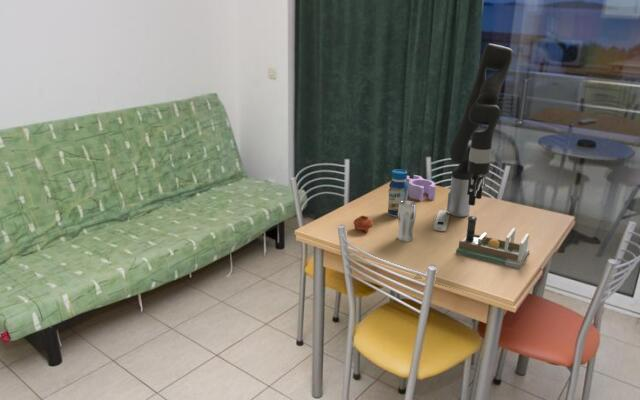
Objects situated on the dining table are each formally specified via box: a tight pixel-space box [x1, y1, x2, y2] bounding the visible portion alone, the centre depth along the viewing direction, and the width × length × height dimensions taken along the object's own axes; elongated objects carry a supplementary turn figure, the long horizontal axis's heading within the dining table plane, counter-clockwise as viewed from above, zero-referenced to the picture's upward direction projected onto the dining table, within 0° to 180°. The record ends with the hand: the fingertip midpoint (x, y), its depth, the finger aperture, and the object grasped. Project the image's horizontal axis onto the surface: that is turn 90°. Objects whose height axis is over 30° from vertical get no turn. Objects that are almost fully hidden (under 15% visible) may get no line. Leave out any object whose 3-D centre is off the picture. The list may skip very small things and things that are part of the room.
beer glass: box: [397, 200, 417, 243], centre depth 205 cm, size 7×7×15 cm
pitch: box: [455, 227, 530, 269], centre depth 194 cm, size 23×16×10 cm
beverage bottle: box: [387, 168, 408, 218], centre depth 230 cm, size 8×8×20 cm
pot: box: [353, 215, 374, 234], centre depth 214 cm, size 8×8×7 cm
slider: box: [462, 215, 488, 246], centre depth 197 cm, size 7×7×10 cm
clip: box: [406, 174, 437, 202], centre depth 258 cm, size 20×12×7 cm, turn 16°
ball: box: [488, 238, 499, 249], centre depth 195 cm, size 4×4×4 cm
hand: (474, 201), depth 194 cm, fingers open, 8 cm apart
